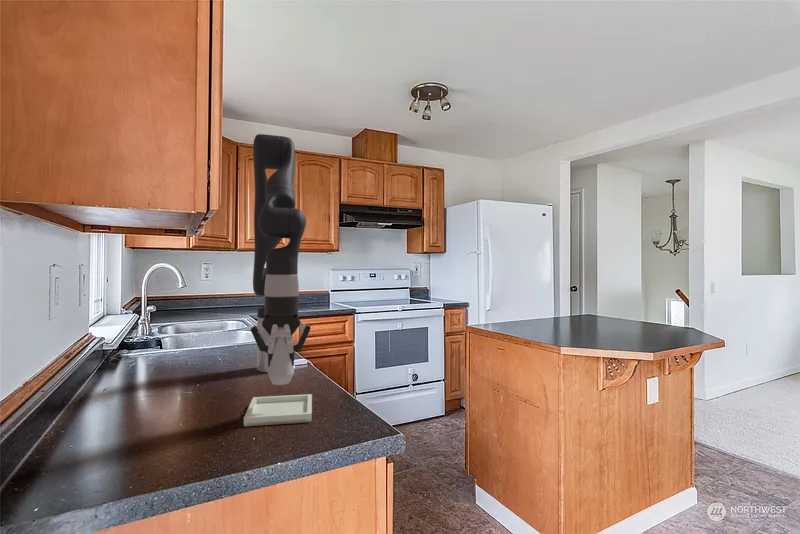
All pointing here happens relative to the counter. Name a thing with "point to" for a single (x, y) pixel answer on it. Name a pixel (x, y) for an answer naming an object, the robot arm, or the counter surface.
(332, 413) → the counter surface
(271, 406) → the tray
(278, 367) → the salt shaker
